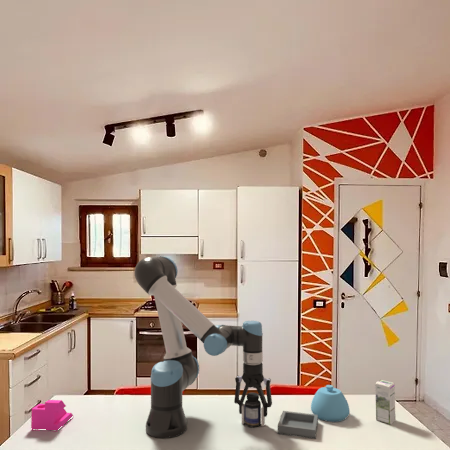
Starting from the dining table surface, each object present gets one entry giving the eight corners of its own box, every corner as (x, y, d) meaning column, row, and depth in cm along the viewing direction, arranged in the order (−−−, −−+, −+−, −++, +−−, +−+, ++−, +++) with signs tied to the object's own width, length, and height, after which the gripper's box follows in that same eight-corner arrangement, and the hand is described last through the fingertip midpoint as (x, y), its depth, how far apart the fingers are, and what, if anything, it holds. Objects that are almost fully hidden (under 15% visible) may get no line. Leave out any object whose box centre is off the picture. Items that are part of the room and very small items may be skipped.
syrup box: (396, 420, 154) (395, 382, 155) (390, 425, 150) (389, 386, 151) (381, 415, 158) (380, 378, 159) (375, 420, 154) (374, 382, 155)
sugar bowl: (335, 427, 149) (335, 395, 149) (303, 414, 160) (303, 385, 161) (356, 415, 159) (356, 386, 159) (325, 404, 170) (324, 377, 170)
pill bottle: (251, 419, 155) (251, 390, 156) (264, 423, 151) (263, 394, 152) (241, 424, 150) (241, 395, 151) (254, 429, 147) (254, 398, 147)
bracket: (57, 431, 145) (58, 402, 146) (31, 430, 146) (31, 401, 147) (73, 417, 157) (73, 391, 158) (48, 416, 158) (49, 390, 159)
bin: (277, 433, 143) (277, 425, 143) (283, 418, 156) (282, 410, 156) (315, 438, 139) (315, 430, 139) (317, 422, 152) (317, 414, 152)
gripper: (225, 363, 151) (225, 424, 150) (276, 367, 146) (277, 431, 145) (230, 357, 159) (230, 416, 157) (280, 361, 153) (280, 422, 152)
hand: (253, 423), depth 151 cm, fingers open, 7 cm apart
